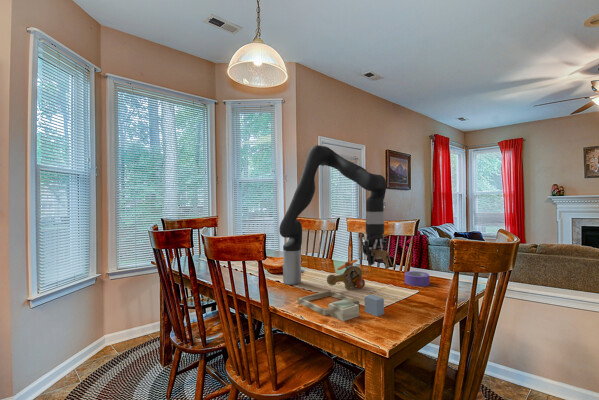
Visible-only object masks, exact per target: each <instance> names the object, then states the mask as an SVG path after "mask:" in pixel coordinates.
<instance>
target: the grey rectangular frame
mask: <svg viewBox="0 0 599 400" xmlns="http://www.w3.org/2000/svg"><path fill="white" fill-rule="evenodd" d="M326 297H333V298H335V299H338V300H337V301H334V302H331V303H330V302H329V303H327V304H328V306H327V308H324V307H321V306H319V305H317V304H315V303H313V302H311V301H315V300H318V299H323V298H326ZM297 303H298V304H299V305H302V306H304V307H306V308H308V309H310V310H312V311H314V312H315V313H318V314H320V315H322V316H331V317H333V318H335V319H338V320H339V321H342V322H345V321H347V320H351V319H355V318H357V317H360V300H358V299H355V298H352V297H350V296H347V295H345V294H343V293H339V292H336V291H334V290H326V291H322V292H317V293H313V294H309V295H305V296H299V297H297Z"/></svg>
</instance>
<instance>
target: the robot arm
mask: <svg viewBox="0 0 599 400" xmlns="http://www.w3.org/2000/svg"><path fill="white" fill-rule="evenodd" d="M320 166H321V167H322V166H323V167H324V166H327V167H330V168H333V169H336V170H337V171H338V172H339V173H341V175H343V176H344V177H345V178H347V179H348V180H351V181H352V182H354V183H356V184H357V185H359V187H360V188H363V189H364V190H366V191H368V192H370V196H368V198H367V199H366V201H365V234H367V235H366V239H362V240H361V246H362V247H363V251H364V253H363V254H364V255H365V254H367V255H368V257H367V264H368V265H369V264H370V265H369V266H373V265H375V264H374V256H373V254H374V250H375V249H377V250H379V251H383V250H385V251H387V246H388V242H389V238H388V237H384V234H385V214H384V213H385V212H384V206H385V205H384V204H385V203H384V200H385V196H386V192H387V180H386V178H385V177H384V175H381V174H376V173H375V174H374V173H371V172H368V171H367V170H366V169H365V168H364V167H362V166H361V165H359V164H357V163H354V162H353V161H351V160H347V158H344V157H342V155H339V154H338V153H336V152H335V151H334V150H333V149H331V148H330V147H329V146H325V145H318V144H314V145H313V146H311V148H310V149H309V152H308V154H307V156H306V159H305V164H304V167H303V170H302V173H301V177H300V179H299V182H298V184H297V186H296V187H295V188H296V189H295V191H294V194H293V196H292V200H291V202H290V204H289V207H288V208H287V210H286V212H285V214H284V216H283V218H282V221H281V222H280V225H279V234H280V236H281V237H282V238H285V239H287V238H288V240H287V241H286V242H285V243H284V244H283V245H282V246H283V247H282V251H283V253H282V254H283V255H282V257H283V258H282V259H283V261H282V263H283V264H282V278H283V279H282V281H283V284H285V285H293V286H294V285H300V284H302V262H301V261H302V260H301V259H302V258H301V257H302V253H301V247H302V243H303V226H302V222H301V221H300V220H299V219H298V218H299V216H300V215H301V214H302V212H303V211H305V209H307V208H308V206H309V205H310V204H311V202H312V200H313V198H314V195H315V192H316V181H315V177H316V173H317V171H318V168H319V167H320ZM370 247H372V248H370ZM366 250H367V251H366ZM370 250H371V252H370ZM376 263H377V264H382V263H383V260H382V259H376Z"/></svg>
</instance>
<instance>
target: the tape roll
mask: <svg viewBox="0 0 599 400" xmlns="http://www.w3.org/2000/svg"><path fill="white" fill-rule="evenodd" d="M404 283H405V284H406V285H408V286H412V287H421V288H422V287H428V286H430V273H428V272H424V271H419V270H418V271H415V270H410V271H405V272H404Z"/></svg>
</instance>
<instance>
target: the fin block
mask: <svg viewBox="0 0 599 400" xmlns="http://www.w3.org/2000/svg"><path fill="white" fill-rule="evenodd" d="M384 300H385V299H384V297H381V296H379V295H374V294H373V293H372V294H368V295H365V296H364V312H365V313H367V314H369V315H372V316H374V317H379V316H383V315H385V303H384V302H385V301H384Z"/></svg>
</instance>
